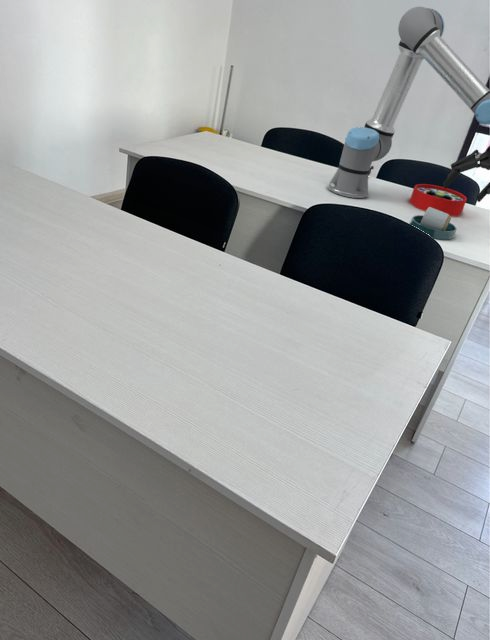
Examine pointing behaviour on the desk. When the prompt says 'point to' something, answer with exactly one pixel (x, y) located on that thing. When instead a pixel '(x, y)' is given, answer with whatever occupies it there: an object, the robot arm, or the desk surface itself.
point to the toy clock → (438, 199)
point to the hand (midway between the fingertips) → (460, 192)
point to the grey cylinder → (435, 219)
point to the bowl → (434, 233)
